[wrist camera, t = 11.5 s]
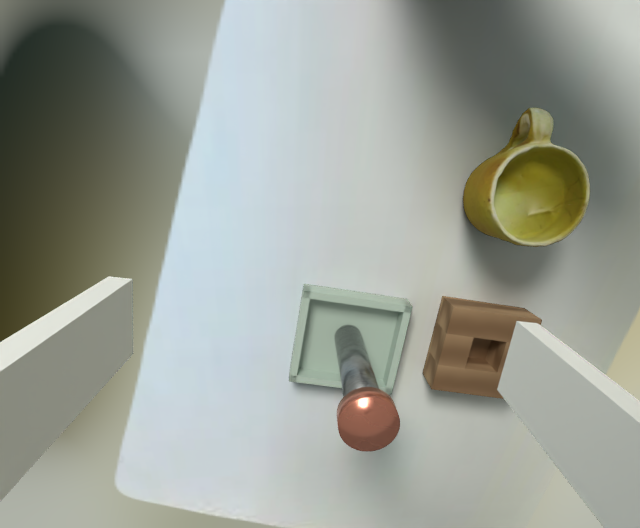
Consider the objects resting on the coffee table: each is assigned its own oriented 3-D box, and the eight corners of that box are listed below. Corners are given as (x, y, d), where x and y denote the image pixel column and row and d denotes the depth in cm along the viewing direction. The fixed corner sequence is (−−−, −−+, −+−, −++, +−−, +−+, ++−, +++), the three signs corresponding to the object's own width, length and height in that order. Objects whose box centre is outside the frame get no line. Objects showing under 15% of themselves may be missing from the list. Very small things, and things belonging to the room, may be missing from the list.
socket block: (442, 296, 45) (453, 306, 41) (524, 308, 46) (542, 320, 42) (422, 372, 47) (431, 389, 44) (500, 383, 48) (515, 400, 45)
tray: (303, 283, 44) (303, 290, 42) (406, 299, 45) (412, 306, 42) (289, 370, 47) (288, 381, 44) (387, 383, 47) (391, 394, 45)
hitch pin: (324, 353, 45) (333, 447, 30) (331, 315, 44) (344, 394, 29) (364, 358, 46) (392, 454, 31) (372, 321, 45) (406, 402, 30)
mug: (548, 257, 42) (588, 255, 32) (451, 239, 44) (461, 232, 35) (574, 144, 41) (623, 108, 32) (474, 132, 44) (491, 95, 34)
